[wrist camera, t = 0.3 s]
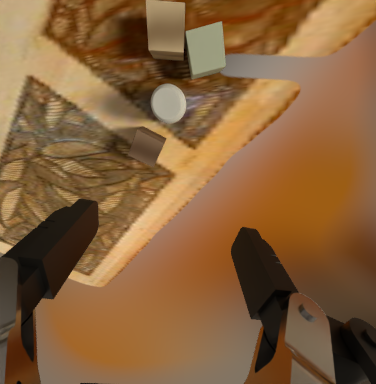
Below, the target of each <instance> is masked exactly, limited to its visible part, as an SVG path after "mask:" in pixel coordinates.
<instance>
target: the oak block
mask: <svg viewBox="0 0 376 384" xmlns="http://www.w3.org/2000/svg"><path fill="white" fill-rule="evenodd" d="M146 11H147V30H148V49H149V52H150V53H151V55H152V57H153V58H154V59H165V60H180V61H184V28H185V3H180V2H168V1H155V0H146Z"/></svg>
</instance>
